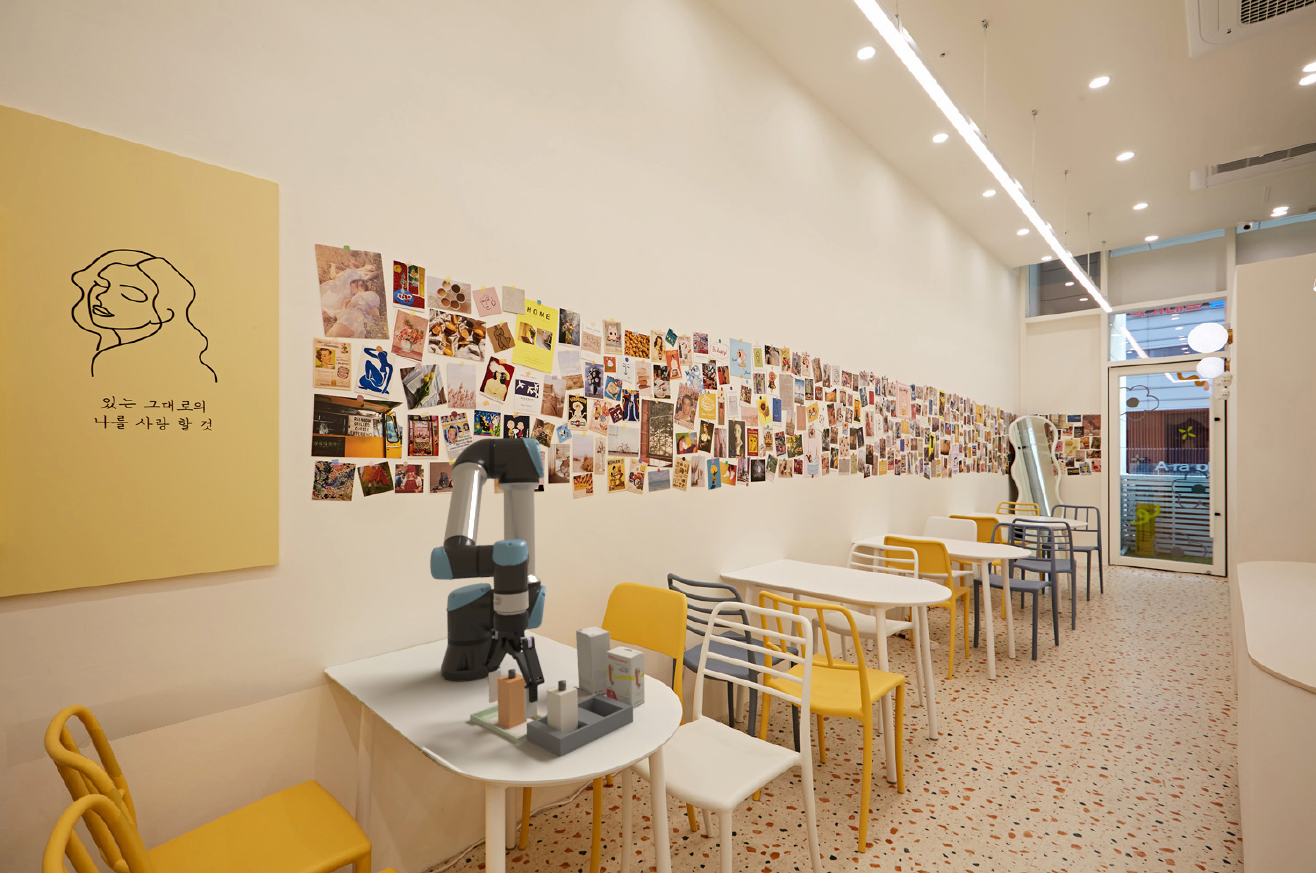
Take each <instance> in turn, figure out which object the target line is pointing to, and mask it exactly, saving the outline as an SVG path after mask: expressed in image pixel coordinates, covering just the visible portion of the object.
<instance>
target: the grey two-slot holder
mask: <svg viewBox="0 0 1316 873" xmlns="http://www.w3.org/2000/svg"><path fill="white" fill-rule="evenodd" d="M542 716H543V717H541V718H539V719H537V718H535V719H534V720H532V721H529V722H526V733H527V739H526V740H527V741H529V743H532V744H534V745H536V746H538V747H540V748H542V749H544V750H545V751H548V752H550V753H551V754H552V753H553V754H554V755H556V756H558V757H560V758H562V757H563V756H565V755H568V754H570V753H572V752H574V751H576V750H578V749H580V748H582V747H584V746H586V745H588V744H590V743H593V742H594V741H597V740H599V739H601V738H603V737H605V736H607V735H609V734H611V733H613V732H615V731H617V730H619V729H621V728H624V727H625V726H628V725H630V724H632V723H633V722H634V707H633V706H631V705H628V704H626V703H623V702H620V701H617V700H615V699H612V698H609V697H607V695H605V694H597V695H596V694H595V695H592V696H590V697H588V698H585V699H583V700H580V701H578V729H577V730H575V731H573V732H571V733H569V734H565V733H563V732H561V731H559V730H557V729H554V728H552V727H550V726H548V721H547V714H546V715H542Z"/></svg>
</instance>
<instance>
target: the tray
mask: <svg viewBox="0 0 1316 873" xmlns="http://www.w3.org/2000/svg"><path fill="white" fill-rule="evenodd" d="M469 716H470V717H469V718H470V721H471V722H473V723H475V724H476V725H479V724H480V725H483V726H484V727H486V728H487V729H490V730H492V731H494V732H495V733H498V734H499V735H502V736H503V737H505V738H507V739H510V740H511V741H513V742H515V743H520V742H521V741H524V740H527V732H526V733H524V734H522V735H519V736H517V735H515V734H513V733H511V732H509V731H507V730H505V729H503V728H501V727H499V726H497V725H495V724H494V723H492V722H489V721H490V720H492V719H496V718H498V704H496V705H493V706H490V707H487V708H485V709H482V710H479V711H477V712H474V713H470V714H469ZM543 716H544V715H542V714H539V713H537V715H536V716H533V717H532V718H534V719H539V718H541V717H543Z"/></svg>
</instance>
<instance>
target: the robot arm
mask: <svg viewBox="0 0 1316 873" xmlns="http://www.w3.org/2000/svg"><path fill="white" fill-rule="evenodd" d="M541 450H542V449H541V445H540V442H539V441H538V439H536V438H531V437H530V438H528V437H512V438H511V437H506V438H505V437H504V438H483V439H479V440H477V441H476V440H475V441H474V442H472V443H471V444H469V445H468V446H466V447H465V448H464V449H463V450H462V451H461V452H460V453H459V455H458V456H456V458H455V461H454V462H453V465H452V468H451V473H450V479H451V482H452V483H453V484H452V490H451V494H450V495H451V497H450V503H449V509H448V515H447V520H446V526H445V533H444V538H443V544H442V545H441V546H436V547H433V549H432V550H431V553H430V560H429V562H430V563H429V564H430V574H431V576H432V578H433V579H435V580H445V581H446V580H449V581H452V580H461V579H475V578H478V579H479V578H482V579H485V578H493V579H492V580H493V588H492V586H491V584H490V583H489V582H488V583H487V582H485V583H484V582H483V583H481V582H480V583H474V584H469V585H464V586H461V587H458V588H456V589H454V590H452V591H451V592H450V593H449V594H448V596H447V603H446V604H447V606H446V614H447V615H446V619H447V622H446V626H447V646H446V649H445V653H444V656H443V658H442V663H441V666H440V676H441V678H443V679H445V680H447V681H452V682H453V681H455V682H465V681H467V682H468V681H474V680H480V679H482V678H486V677H488V678H487V681H488V682H487V684H488V703H490V704H491V703H495V702H498V678H500V677H502V671H501V664H502V663H503V660H504V658H505V657H506V655H507V654H508V655H509V656H511V657H512V659H513V660H515V661H516V663H517V666H518V669H519V671H520V673H521V675H522V676H523V678H524V680H525V683H526V686H525V687H524V718H525V719H527V720H528V719H531V718H534V717H533V716H536V715H537V714H538V699H539V697H538V696H539V695H538V693H539V692H538V688H539V685H543V684H545V677H544V674H543V670H542V665H541V663H540V660H539V656H538V653H537V650H536V649H537V648H536V641H535V637H534V636H533V635H531V636H528V637H527V636H526V635H525V631H526V630H532V629H533V630H534V629H537V628H540V627H541V625H542V624H543V617H544V610H545V601H546V600H545V599H546V592H547V587H546V585H544V584H542V582H541V581H542V580H541V578H540V577H539V576H538V575H537V574H536V540H535V539H536V538H535V535H536V534H535V531H536V530H535V524H536V522H535V490H536V488H537V487H538V486H539V485H540V479H543V478H544V477H545V472H544V466H543V457H542V451H541ZM490 479H491V480H494V479H495V480H497V485H498V487H499V488H500V489H501V490H502V491H503V539H501V540H498V541H497V540H496V541H495V542H494V543H493V544H483V545H481V544H478V545H477V539H478V533H479V532H478V531H479V530H478V529H479V520H480V512H481V502H482V495H483V494H482V493H483V492H482V491H483V486H484V485H486V482H487V480H490Z"/></svg>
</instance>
